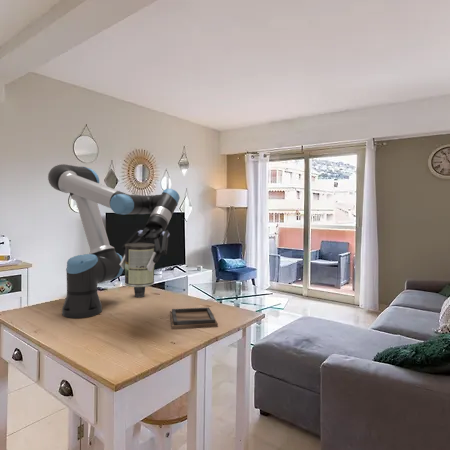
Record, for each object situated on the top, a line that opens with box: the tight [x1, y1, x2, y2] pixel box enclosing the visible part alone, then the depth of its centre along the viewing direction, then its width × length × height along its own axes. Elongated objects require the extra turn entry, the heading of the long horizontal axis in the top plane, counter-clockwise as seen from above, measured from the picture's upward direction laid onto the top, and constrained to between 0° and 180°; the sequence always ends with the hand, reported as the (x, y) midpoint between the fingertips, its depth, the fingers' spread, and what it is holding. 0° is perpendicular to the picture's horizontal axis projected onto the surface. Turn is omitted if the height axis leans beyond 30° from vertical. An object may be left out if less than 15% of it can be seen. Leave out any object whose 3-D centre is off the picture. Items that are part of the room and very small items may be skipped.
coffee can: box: [124, 242, 155, 288], centre depth 119 cm, size 10×10×14 cm
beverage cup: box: [133, 287, 146, 298], centre depth 165 cm, size 7×7×20 cm
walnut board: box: [169, 307, 219, 330], centre depth 133 cm, size 17×17×2 cm
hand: (135, 268), depth 117 cm, fingers closed on coffee can, 10 cm apart
